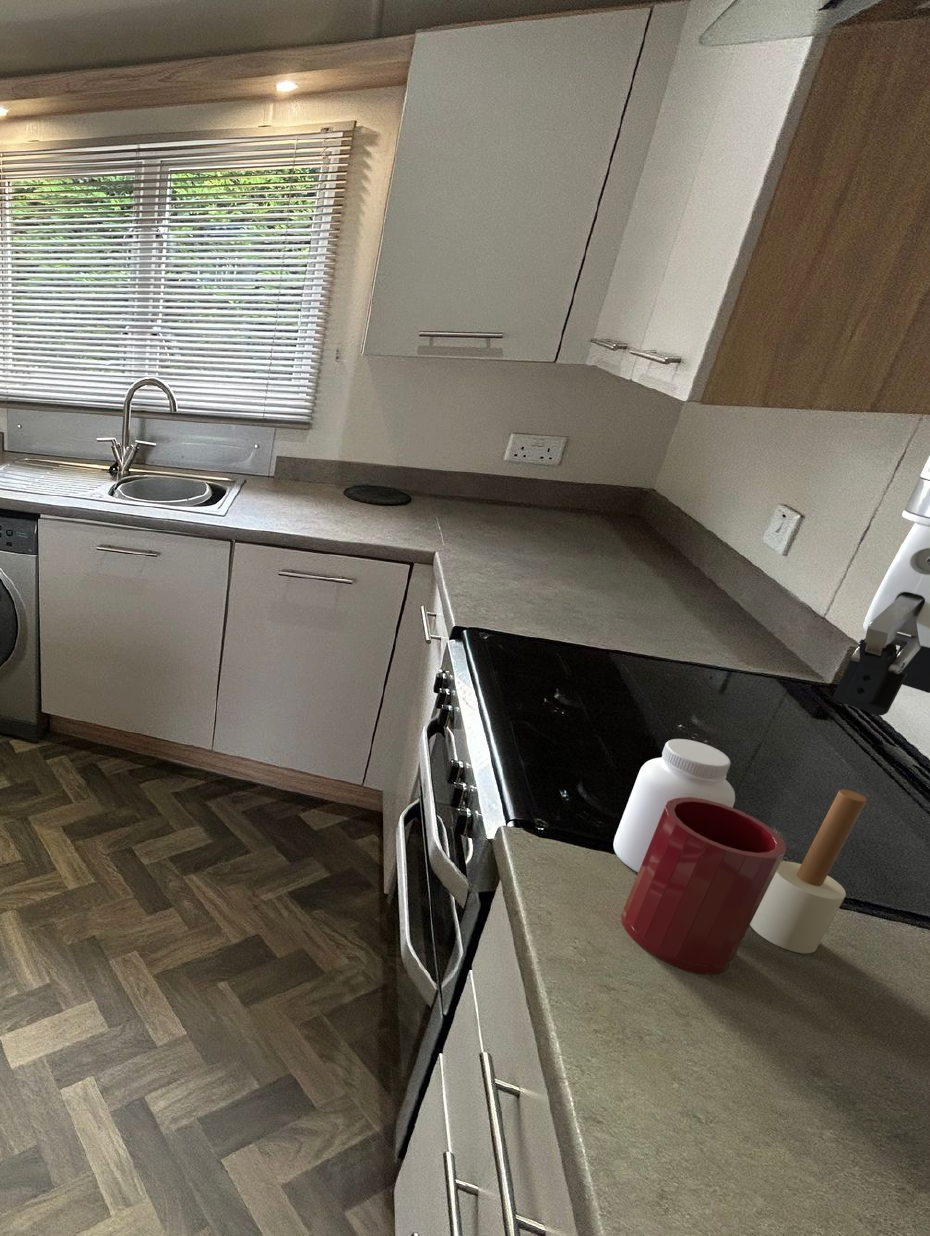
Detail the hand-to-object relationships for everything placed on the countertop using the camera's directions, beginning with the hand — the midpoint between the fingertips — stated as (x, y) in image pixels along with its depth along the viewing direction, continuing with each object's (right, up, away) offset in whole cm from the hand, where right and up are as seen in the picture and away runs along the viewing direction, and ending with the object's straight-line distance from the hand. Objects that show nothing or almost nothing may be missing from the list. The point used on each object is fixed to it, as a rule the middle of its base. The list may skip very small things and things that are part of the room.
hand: (884, 696), depth 63 cm
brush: (+1, -26, +9) cm, 27 cm away
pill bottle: (-4, -22, +19) cm, 29 cm away
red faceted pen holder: (-11, -26, +9) cm, 29 cm away
